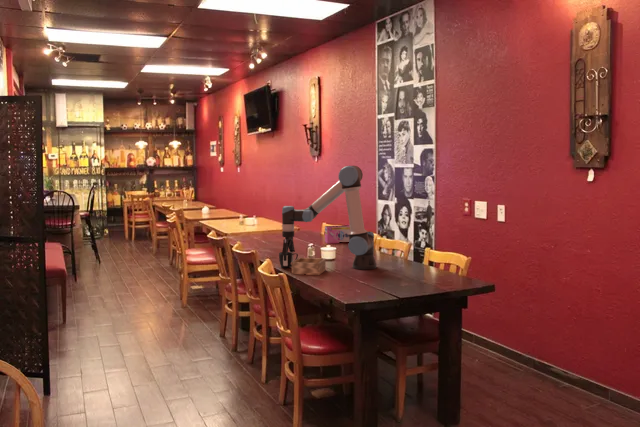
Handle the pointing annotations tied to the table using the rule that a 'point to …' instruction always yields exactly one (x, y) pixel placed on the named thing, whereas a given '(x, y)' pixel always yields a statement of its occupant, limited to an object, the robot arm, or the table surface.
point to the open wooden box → (308, 266)
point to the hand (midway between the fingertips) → (288, 263)
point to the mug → (288, 259)
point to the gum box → (337, 234)
